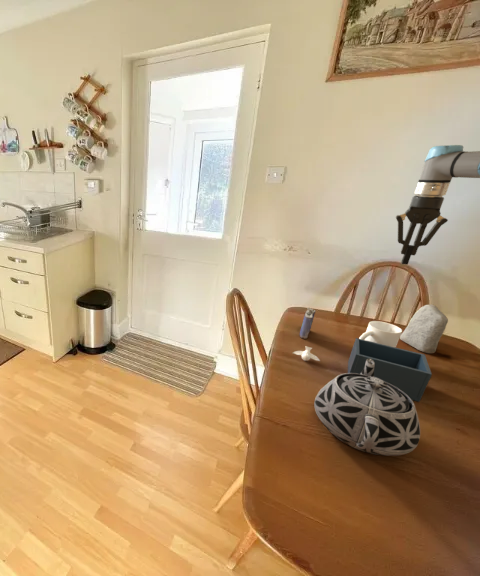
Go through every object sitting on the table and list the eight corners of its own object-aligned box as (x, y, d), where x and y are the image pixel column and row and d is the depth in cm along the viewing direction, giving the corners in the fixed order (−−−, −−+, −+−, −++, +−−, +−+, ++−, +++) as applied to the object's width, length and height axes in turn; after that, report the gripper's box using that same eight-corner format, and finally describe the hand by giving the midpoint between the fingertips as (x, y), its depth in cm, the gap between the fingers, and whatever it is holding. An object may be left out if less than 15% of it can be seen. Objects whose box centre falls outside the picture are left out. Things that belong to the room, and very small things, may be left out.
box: (413, 380, 93) (424, 354, 89) (419, 402, 84) (432, 374, 81) (348, 361, 102) (355, 337, 98) (347, 380, 93) (355, 354, 90)
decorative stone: (439, 355, 105) (457, 315, 99) (418, 353, 105) (435, 314, 100) (413, 338, 115) (429, 301, 109) (395, 337, 115) (409, 300, 110)
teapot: (403, 409, 82) (424, 361, 76) (421, 502, 59) (452, 443, 54) (316, 381, 93) (329, 337, 87) (303, 451, 70) (320, 397, 65)
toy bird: (290, 357, 103) (294, 343, 103) (291, 355, 107) (295, 342, 107) (319, 366, 98) (323, 352, 98) (319, 364, 102) (323, 350, 102)
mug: (364, 362, 101) (374, 334, 98) (343, 348, 109) (352, 322, 105) (398, 359, 102) (409, 332, 99) (375, 346, 110) (384, 320, 106)
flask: (306, 340, 115) (313, 313, 111) (297, 337, 116) (304, 311, 113) (310, 330, 121) (317, 305, 117) (301, 328, 123) (308, 303, 119)
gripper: (403, 195, 105) (381, 262, 114) (459, 197, 98) (431, 269, 106) (401, 194, 111) (380, 258, 119) (454, 195, 103) (427, 263, 112)
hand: (404, 263), depth 113 cm, fingers closed
